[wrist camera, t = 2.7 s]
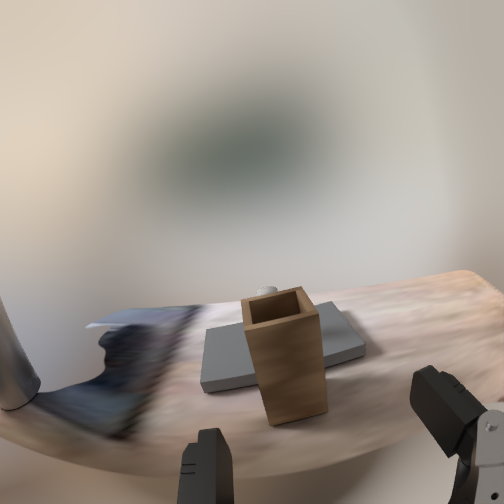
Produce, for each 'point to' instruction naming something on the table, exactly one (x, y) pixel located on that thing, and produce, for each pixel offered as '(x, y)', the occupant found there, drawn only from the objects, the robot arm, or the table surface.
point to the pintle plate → (239, 359)
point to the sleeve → (286, 354)
